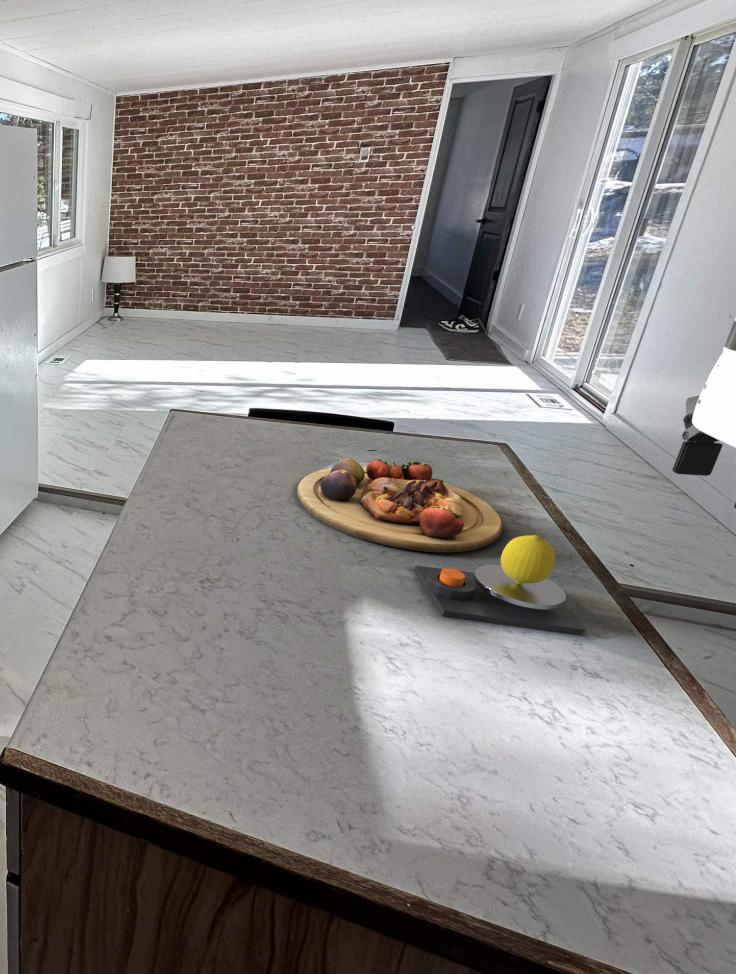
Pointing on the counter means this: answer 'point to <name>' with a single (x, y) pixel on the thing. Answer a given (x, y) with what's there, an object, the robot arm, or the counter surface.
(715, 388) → the robot arm
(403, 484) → the wooden plate
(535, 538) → the lemon
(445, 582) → the tare button
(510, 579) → the scale pan
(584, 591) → the counter surface
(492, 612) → the scale
